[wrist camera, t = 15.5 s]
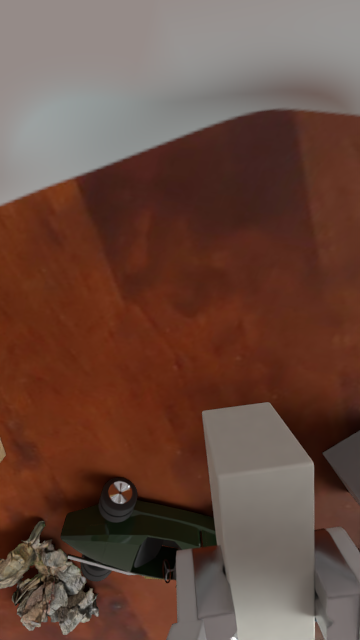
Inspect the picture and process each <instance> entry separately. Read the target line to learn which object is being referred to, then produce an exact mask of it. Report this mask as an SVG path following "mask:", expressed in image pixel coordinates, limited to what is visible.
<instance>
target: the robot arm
mask: <svg viewBox="0 0 360 640" xmlns="http://www.w3.org/2000/svg"><path fill="white" fill-rule="evenodd" d="M176 582H177V623H175V624H172V626H171V629H170V631H169V634H168V636H167V639H166V640H238V636H237V623H236V615H235V609H234V603H233V598H232V592H231V587H230V583H228V581H227V577H226V575H225V566H224V560H223V555H222V549H221V545H215V546H208V547H201V548H194V549H192V548H191V549H185V550H179V551H177V552H176ZM314 588H315V618H316V620H317V622H318V625H319V627H320V629H321V632H322V634H323V637H324V639H325V640H360V552H359V551H358V549H357V548H356V546H355V545H354V543H353V542H352V540H351V539H350V537H349V536H348V534H347V533H346V531H345V530H344V529H343V528H342V527H333V528H327V529H318V530H314Z"/></svg>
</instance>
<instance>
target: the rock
mask: <svg viewBox="0 0 360 640" xmlns="http://www.w3.org/2000/svg"><path fill="white" fill-rule="evenodd" d="M44 526H46V525H45V522H44V521H39V522H38V523H37V525H36V526H35V528H34V530H33V531H32V532H31V535H30V537H29V539H28V540H27V541H24V542H25V543H21V544H18V547H16V548H15V549H14V550H13V551H10V553H9V554H8V556H7V559H6V560H4V559H0V589H1V588H6V587H12V586H13V585H15V584H16V583H18V585H17V590H16V591H15V592H14V594H13V596H12V601H13V602H14V604H15V606H16V605H17V604H19V603H20V605H19V606H18V608H17V611H18V612H17V614H18V615H19V616H20V617H22V618H21V622H22V623H23V626H26V628H27V629H28V630H34V628H35V627H40V626H41V622H47V620H48V617H47V616H49V617H51V622H58V621H59V624H60V628H61V630H62V633H63V635H66V634H68V633H69V632H70V631H72V630H73V629H74V628H75V627H76V626H77V624H78V623H79V622H83V623H85V622H87V621H89V620H90V618H91V615H92V614H94V615H95V616H99V615H98V614H99V613H98V611H99V609H98V607H97V605H96V600H95V599H96V596H97V595H98V594H99V593H98V594H96V595H94V593H93V591H92V590H93V589H90V590H89V591H88V592H87V593H84V591H82V590H83V589H84V588H85V585H84V584H85V583H87V581H86V578H85V577H84V576H83V577H82V576H81V573H80V572H81V569H79V568H78V567H76V566H75V565H73V563H72V562H68V558H67V555H66V553H64V552H63V551H62V550H61V549H58V550H57V551H55V550H54V549H55V547H54V545H52V544H51V542H52V539H51V540H47V541H44V542H43V543H41V544H40V543H39V542H40V540H39V538H40V537H39V536H40V534H41V532H42V529H43V528H44ZM21 541H22V540H21ZM33 565H35V567H36V569H38V573H39V574H37V575H36V576H35V577H34V578H32V579H29V578H28V579H26V580H25V581H24V582H23V581H21V580H22V578H23V576H22V575H23V574H24V573H25V572H27V571H28V570H29V569H30V568H29V567H30V566H33ZM94 597H95V598H94Z"/></svg>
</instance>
